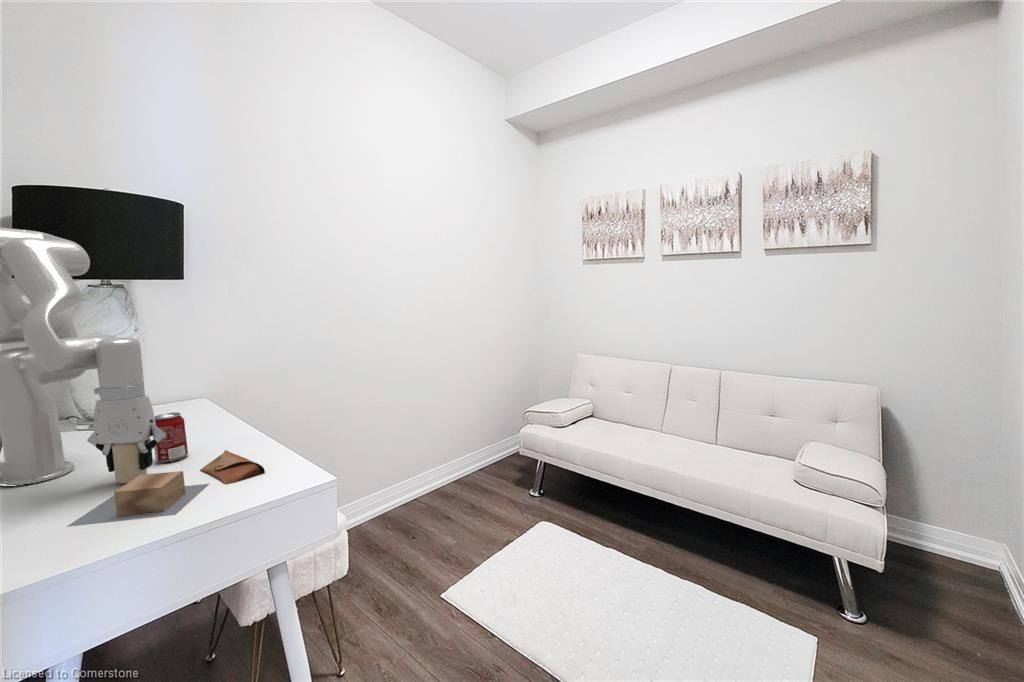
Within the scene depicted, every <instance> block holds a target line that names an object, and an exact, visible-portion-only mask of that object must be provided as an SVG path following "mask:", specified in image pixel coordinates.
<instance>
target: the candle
mask: <svg viewBox="0 0 1024 682" xmlns="http://www.w3.org/2000/svg"><path fill="white" fill-rule="evenodd" d="M112 451H113V461H114V470H115V471H114V478H115V482H116V483H117V484H127V483H129V482H130V481H132V480H133V479H135V478H136V477H138V476H139V475H145V474H148V470H147V468H146V469H145V470H141V469H140V463H139V454H140V453H141V450H140V448H139V446H138V444H137V443H127V444H113V445H112Z"/></svg>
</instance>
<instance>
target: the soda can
mask: <svg viewBox="0 0 1024 682" xmlns="http://www.w3.org/2000/svg"><path fill="white" fill-rule="evenodd" d="M154 417H155V423H156V426H157V427H158V428H160V429H161V430H162V431H163V432H165V433H166V437H164V438H163V439H162V440H161V441H160V442H159V443H158V444H157V445H156V446H155V447H154V448H153V449H154V455H155V456H154V457H155V461H156V462H158V463H162V462H163V463H164V464H165V463H167V464H169V463H174V462H178V461H181V460H183V459H184V458H185V457H186V456H188V454H189V451H188V450H189V449H188V441H187V433H186V432H187V431H186V424H185V418H183V417H182V415H181V412H178V411H176V412H167V413H161V414H157V415H154ZM154 438H155V435H153V436H152V440H153V439H154ZM168 462H169V463H168ZM163 463H162V464H163Z"/></svg>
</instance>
